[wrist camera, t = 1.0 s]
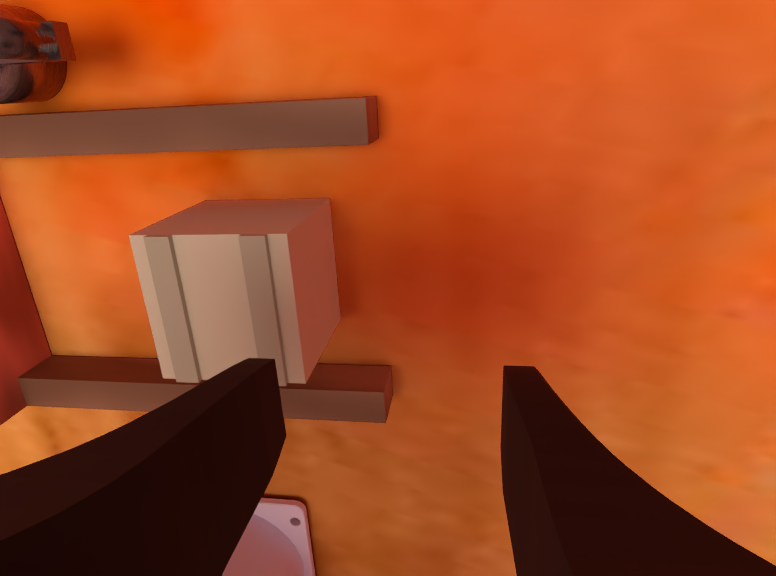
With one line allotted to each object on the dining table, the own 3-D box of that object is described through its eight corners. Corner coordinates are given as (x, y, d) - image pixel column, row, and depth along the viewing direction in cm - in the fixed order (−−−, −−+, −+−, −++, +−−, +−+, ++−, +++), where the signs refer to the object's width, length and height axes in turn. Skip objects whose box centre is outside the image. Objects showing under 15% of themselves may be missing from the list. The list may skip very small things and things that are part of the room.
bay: (392, 394, 22) (377, 456, 19) (33, 380, 25) (-42, 432, 21) (376, 95, 18) (352, 100, 14) (-57, 118, 21) (-172, 126, 17)
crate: (341, 318, 21) (303, 387, 17) (227, 316, 22) (159, 381, 17) (330, 197, 20) (284, 235, 15) (206, 200, 20) (124, 237, 16)
